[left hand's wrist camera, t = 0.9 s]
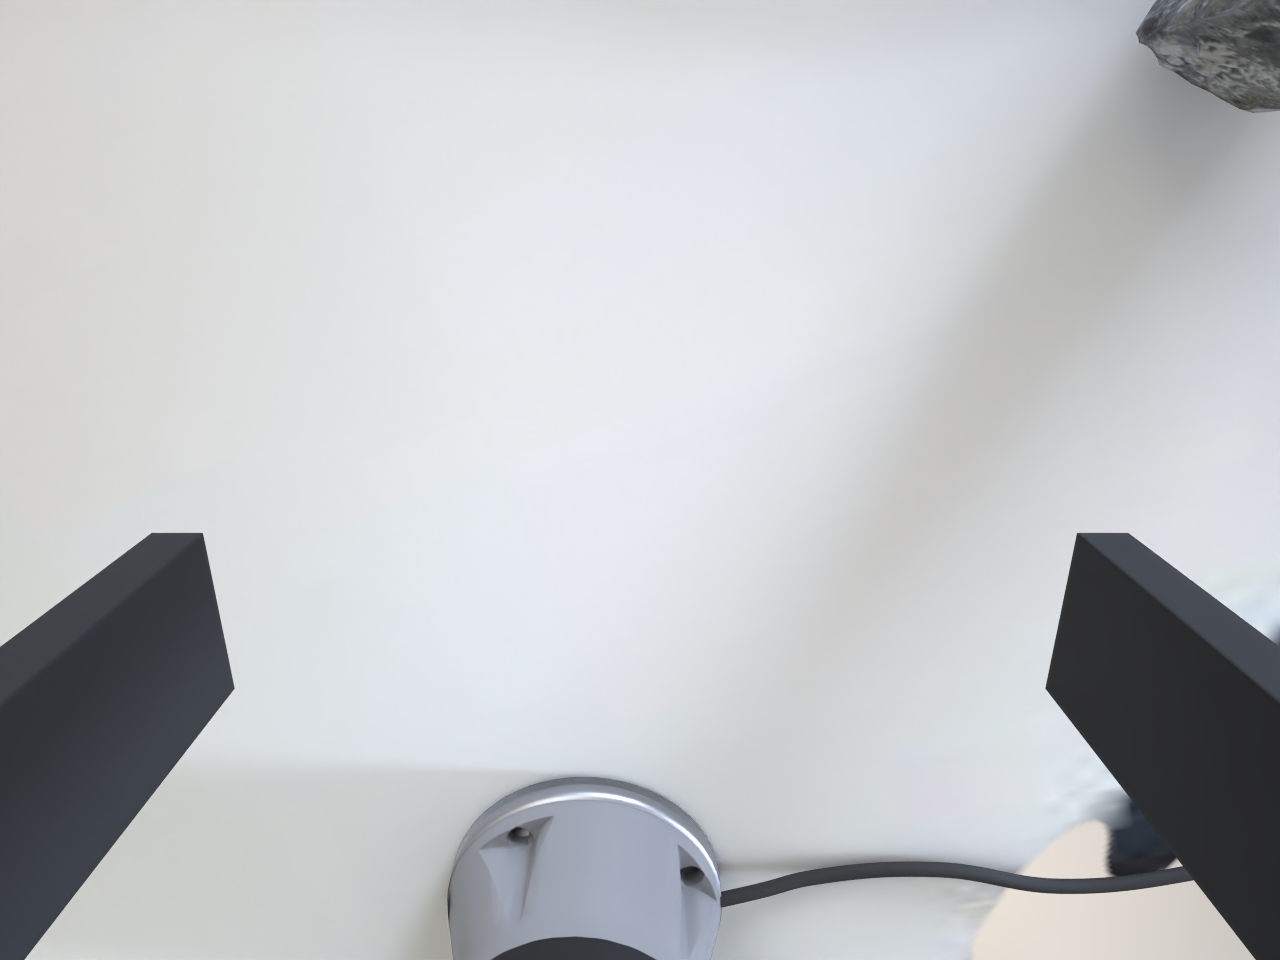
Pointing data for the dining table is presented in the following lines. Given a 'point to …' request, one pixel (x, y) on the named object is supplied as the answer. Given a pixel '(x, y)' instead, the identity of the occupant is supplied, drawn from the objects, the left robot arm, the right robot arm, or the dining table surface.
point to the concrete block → (1220, 47)
